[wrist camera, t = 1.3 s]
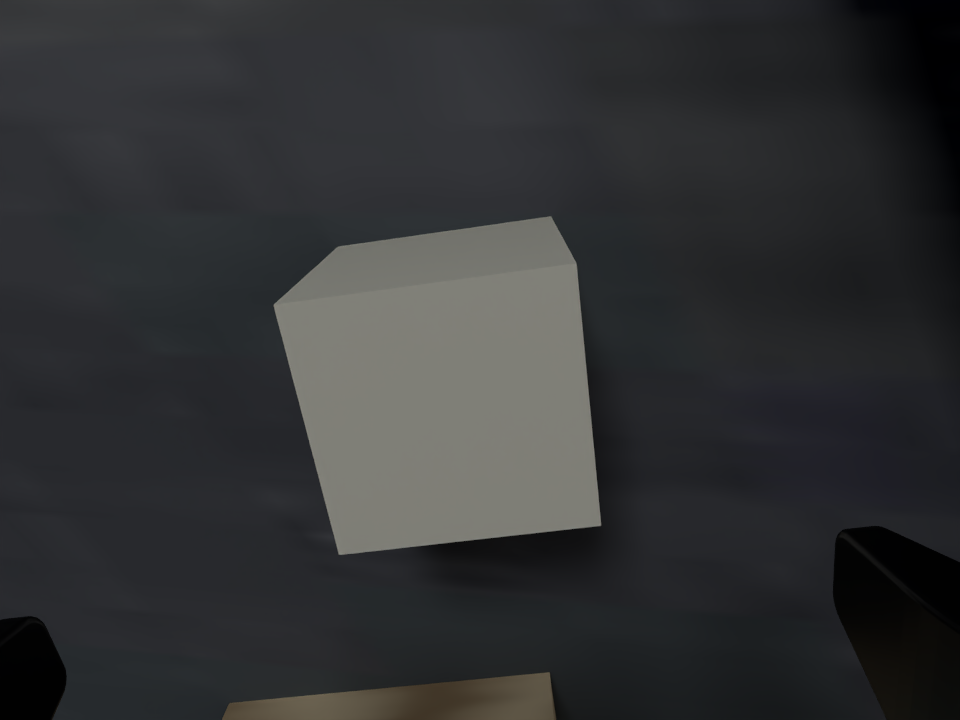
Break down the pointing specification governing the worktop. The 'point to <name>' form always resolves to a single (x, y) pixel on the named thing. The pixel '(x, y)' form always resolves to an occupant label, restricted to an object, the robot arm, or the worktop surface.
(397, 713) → the oak slab
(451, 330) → the cream block
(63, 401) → the worktop surface
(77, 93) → the worktop surface
